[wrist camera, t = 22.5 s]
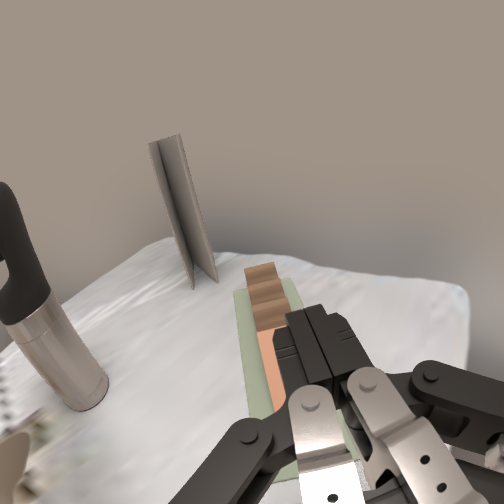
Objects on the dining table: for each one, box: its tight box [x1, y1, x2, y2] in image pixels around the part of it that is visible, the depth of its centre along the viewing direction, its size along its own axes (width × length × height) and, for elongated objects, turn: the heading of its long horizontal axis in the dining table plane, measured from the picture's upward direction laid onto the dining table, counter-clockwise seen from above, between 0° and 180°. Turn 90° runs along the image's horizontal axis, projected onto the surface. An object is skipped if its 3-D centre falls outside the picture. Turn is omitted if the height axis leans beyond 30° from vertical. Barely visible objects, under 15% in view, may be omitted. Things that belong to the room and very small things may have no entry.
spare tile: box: [257, 325, 286, 412], centre depth 30 cm, size 2×5×11 cm
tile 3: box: [247, 278, 286, 305], centre depth 40 cm, size 2×5×11 cm
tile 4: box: [244, 262, 278, 286], centre depth 44 cm, size 2×5×11 cm
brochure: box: [147, 134, 219, 290], centre depth 57 cm, size 14×6×30 cm, turn 12°
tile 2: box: [251, 297, 292, 332], centre depth 35 cm, size 2×5×11 cm
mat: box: [233, 278, 360, 483], centre depth 37 cm, size 36×11×1 cm, turn 7°
